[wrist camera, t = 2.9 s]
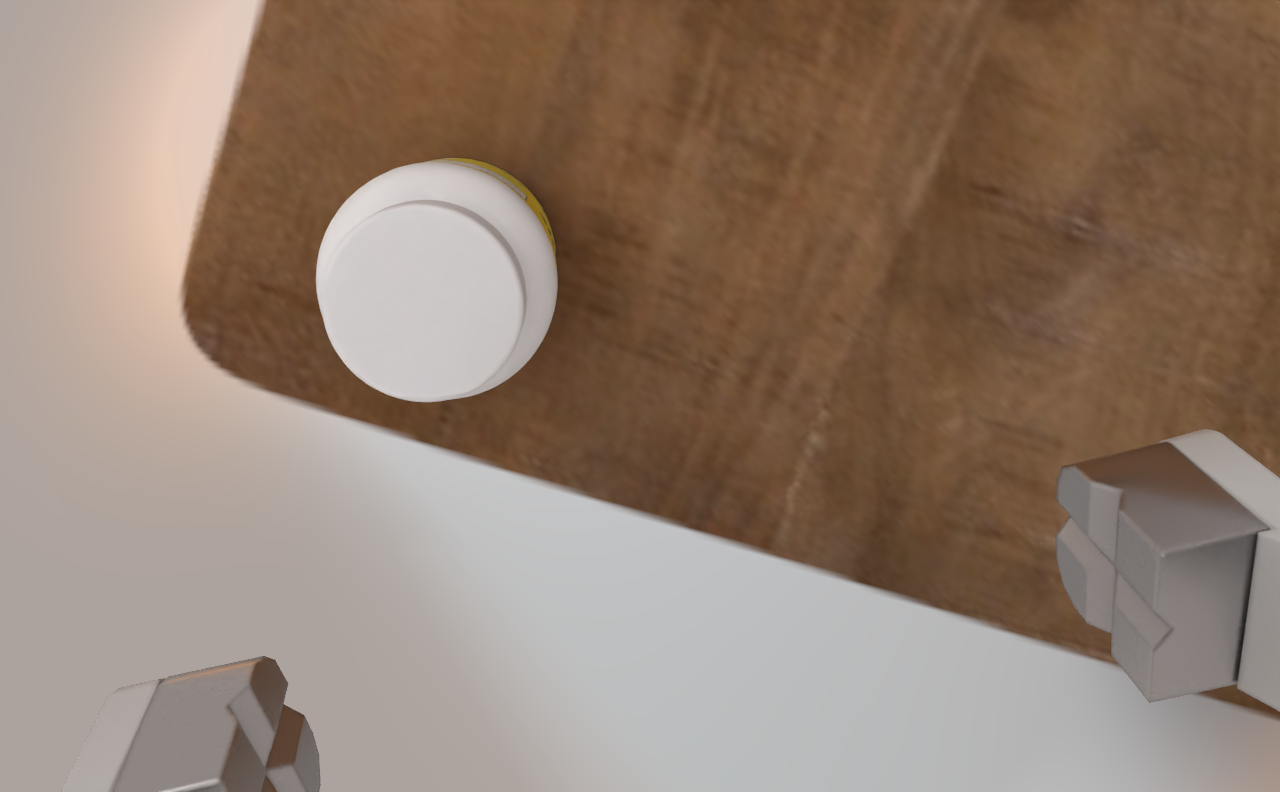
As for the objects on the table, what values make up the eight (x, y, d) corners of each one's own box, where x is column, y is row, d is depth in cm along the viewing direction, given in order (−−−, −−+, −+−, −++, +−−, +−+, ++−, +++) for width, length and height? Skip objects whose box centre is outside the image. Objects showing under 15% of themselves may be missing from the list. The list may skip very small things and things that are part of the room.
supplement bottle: (522, 367, 30) (505, 473, 21) (346, 306, 29) (244, 388, 20) (583, 196, 29) (595, 225, 19) (402, 127, 28) (322, 123, 19)
